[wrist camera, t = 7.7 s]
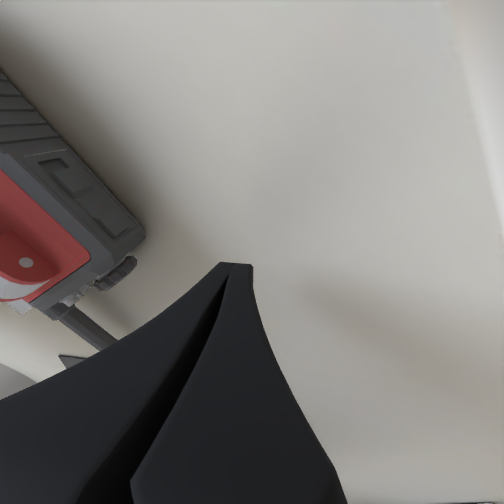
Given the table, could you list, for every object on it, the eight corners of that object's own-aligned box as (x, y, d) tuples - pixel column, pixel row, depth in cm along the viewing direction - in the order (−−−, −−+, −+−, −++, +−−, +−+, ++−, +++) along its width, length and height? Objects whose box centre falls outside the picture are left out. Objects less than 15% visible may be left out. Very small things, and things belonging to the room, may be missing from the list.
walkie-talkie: (-185, 94, 10) (146, 361, 18) (-471, 84, 6) (108, 429, 14) (-146, -108, 7) (240, 327, 14) (-693, -384, 3) (224, 404, 11)
